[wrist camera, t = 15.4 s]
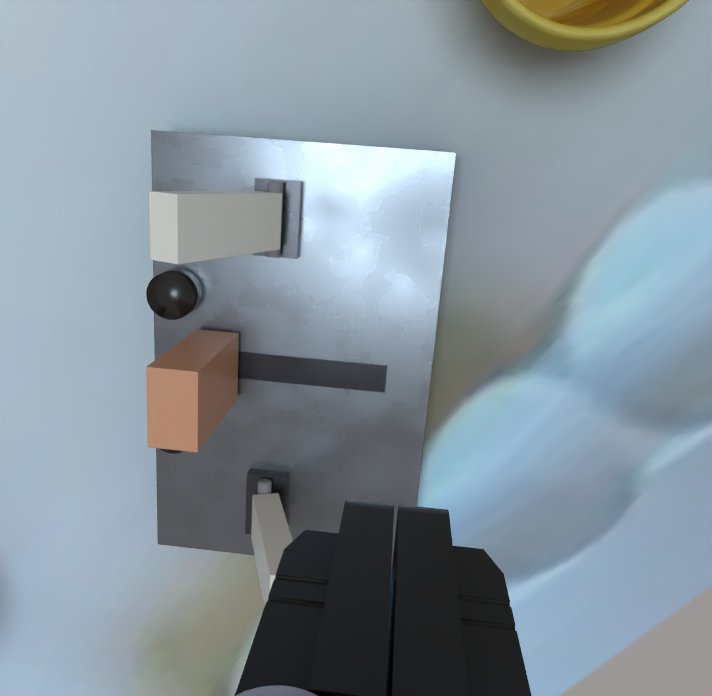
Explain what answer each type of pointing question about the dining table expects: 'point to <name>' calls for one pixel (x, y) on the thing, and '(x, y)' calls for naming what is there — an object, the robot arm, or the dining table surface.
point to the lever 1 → (215, 224)
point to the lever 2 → (268, 534)
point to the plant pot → (579, 20)
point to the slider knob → (191, 390)
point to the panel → (306, 332)
